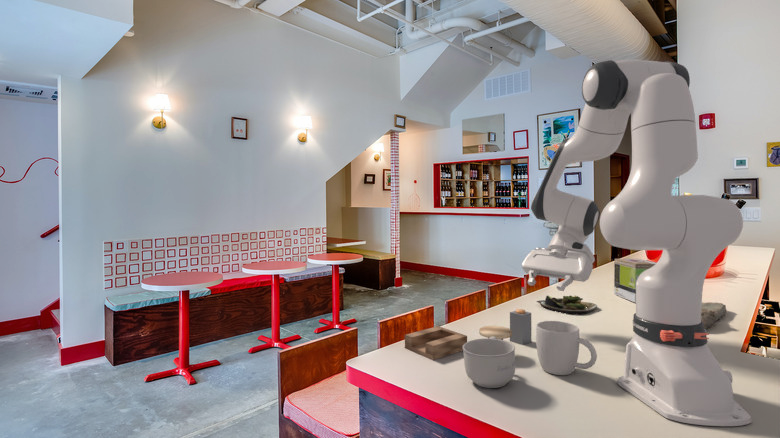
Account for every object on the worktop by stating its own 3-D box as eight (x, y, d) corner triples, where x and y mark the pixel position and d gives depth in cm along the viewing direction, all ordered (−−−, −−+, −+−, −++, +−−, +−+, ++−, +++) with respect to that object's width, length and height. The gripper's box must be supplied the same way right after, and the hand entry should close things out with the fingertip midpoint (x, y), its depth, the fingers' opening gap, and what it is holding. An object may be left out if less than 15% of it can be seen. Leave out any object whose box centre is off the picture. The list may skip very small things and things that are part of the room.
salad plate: (561, 299, 162) (561, 287, 162) (608, 308, 148) (608, 295, 147) (531, 307, 151) (531, 294, 151) (578, 317, 136) (578, 303, 136)
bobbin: (515, 360, 100) (514, 335, 100) (481, 359, 101) (481, 335, 101) (509, 348, 108) (509, 325, 108) (478, 348, 109) (477, 325, 109)
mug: (530, 371, 94) (529, 327, 94) (545, 359, 101) (545, 318, 100) (590, 387, 86) (590, 339, 85) (602, 373, 92) (602, 328, 92)
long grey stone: (734, 316, 139) (698, 312, 146) (734, 300, 139) (698, 297, 146) (707, 334, 116) (666, 328, 123) (707, 315, 116) (665, 310, 123)
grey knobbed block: (519, 338, 117) (518, 307, 116) (531, 341, 113) (531, 310, 113) (510, 341, 114) (509, 310, 114) (522, 345, 111) (522, 313, 111)
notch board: (438, 338, 118) (438, 326, 117) (467, 349, 109) (467, 335, 109) (404, 347, 110) (404, 334, 110) (433, 360, 102) (432, 345, 101)
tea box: (662, 303, 152) (662, 263, 151) (634, 303, 152) (634, 263, 151) (638, 294, 167) (638, 257, 166) (613, 294, 167) (613, 257, 166)
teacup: (506, 398, 82) (506, 358, 81) (455, 386, 87) (454, 348, 87) (524, 372, 93) (524, 337, 93) (478, 363, 99) (478, 330, 99)
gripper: (529, 241, 132) (509, 275, 127) (592, 245, 116) (573, 285, 110) (537, 253, 135) (519, 287, 130) (600, 260, 119) (582, 299, 113)
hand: (544, 286), depth 120 cm, fingers open, 8 cm apart
